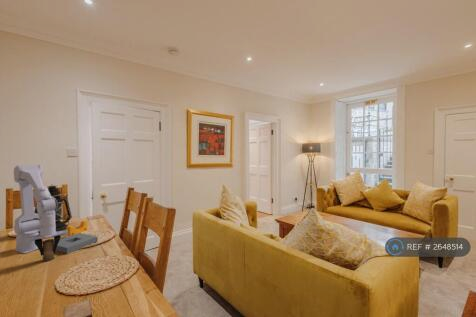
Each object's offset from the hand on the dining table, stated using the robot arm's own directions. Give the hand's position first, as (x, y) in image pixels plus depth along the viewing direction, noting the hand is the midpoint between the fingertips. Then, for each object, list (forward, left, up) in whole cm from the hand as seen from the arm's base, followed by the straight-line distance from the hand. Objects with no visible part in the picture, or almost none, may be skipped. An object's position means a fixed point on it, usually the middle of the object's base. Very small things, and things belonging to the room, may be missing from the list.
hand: (48, 253), depth 106 cm
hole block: (-6, +15, -3) cm, 16 cm away
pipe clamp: (-23, +27, -3) cm, 36 cm away
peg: (0, 0, -3) cm, 3 cm away
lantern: (-42, +25, -3) cm, 49 cm away
